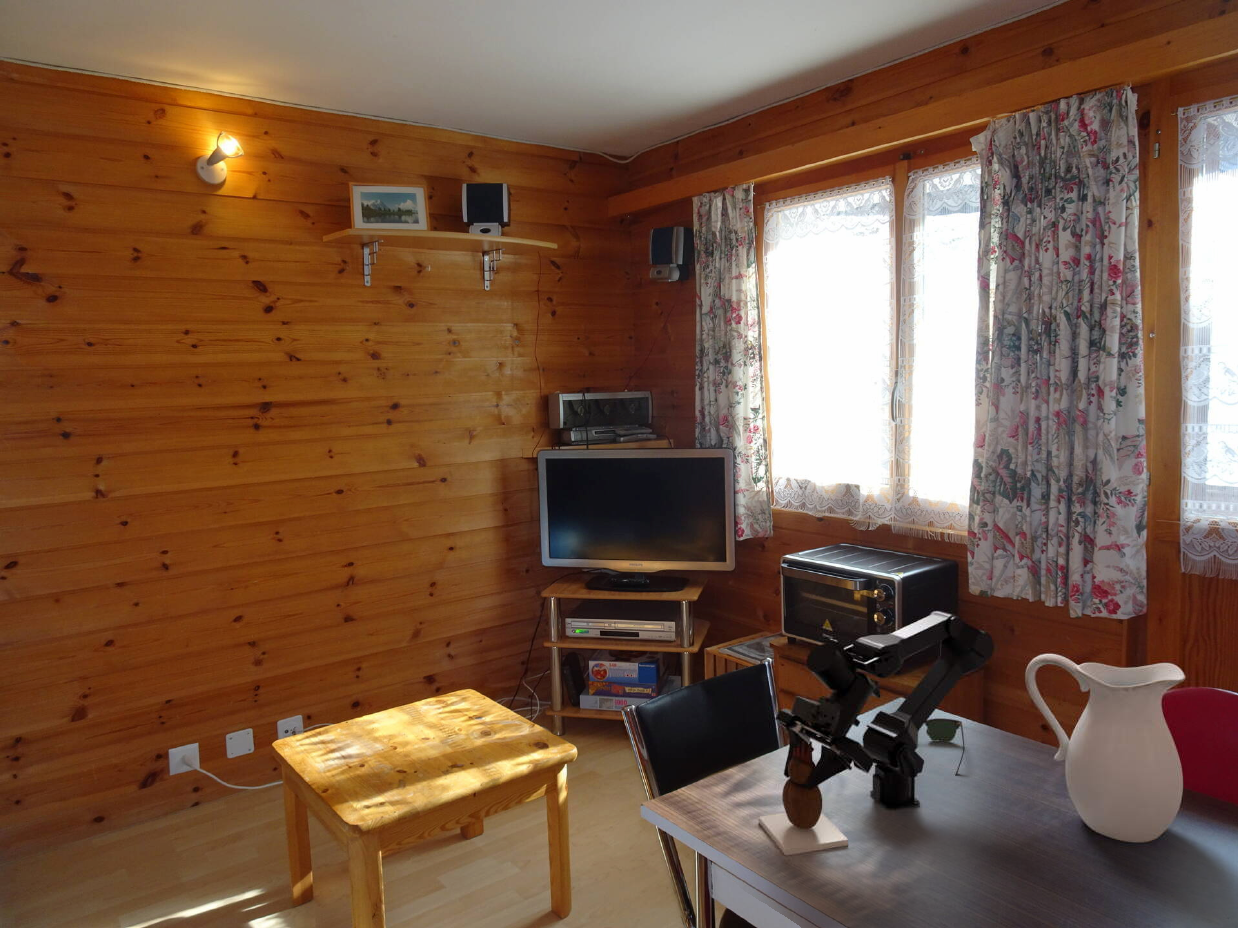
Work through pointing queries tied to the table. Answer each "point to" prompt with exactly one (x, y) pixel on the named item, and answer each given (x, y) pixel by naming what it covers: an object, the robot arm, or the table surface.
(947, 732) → the sunglasses
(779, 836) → the display tile
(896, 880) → the table surface
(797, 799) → the wooden figurine
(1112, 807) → the pitcher
